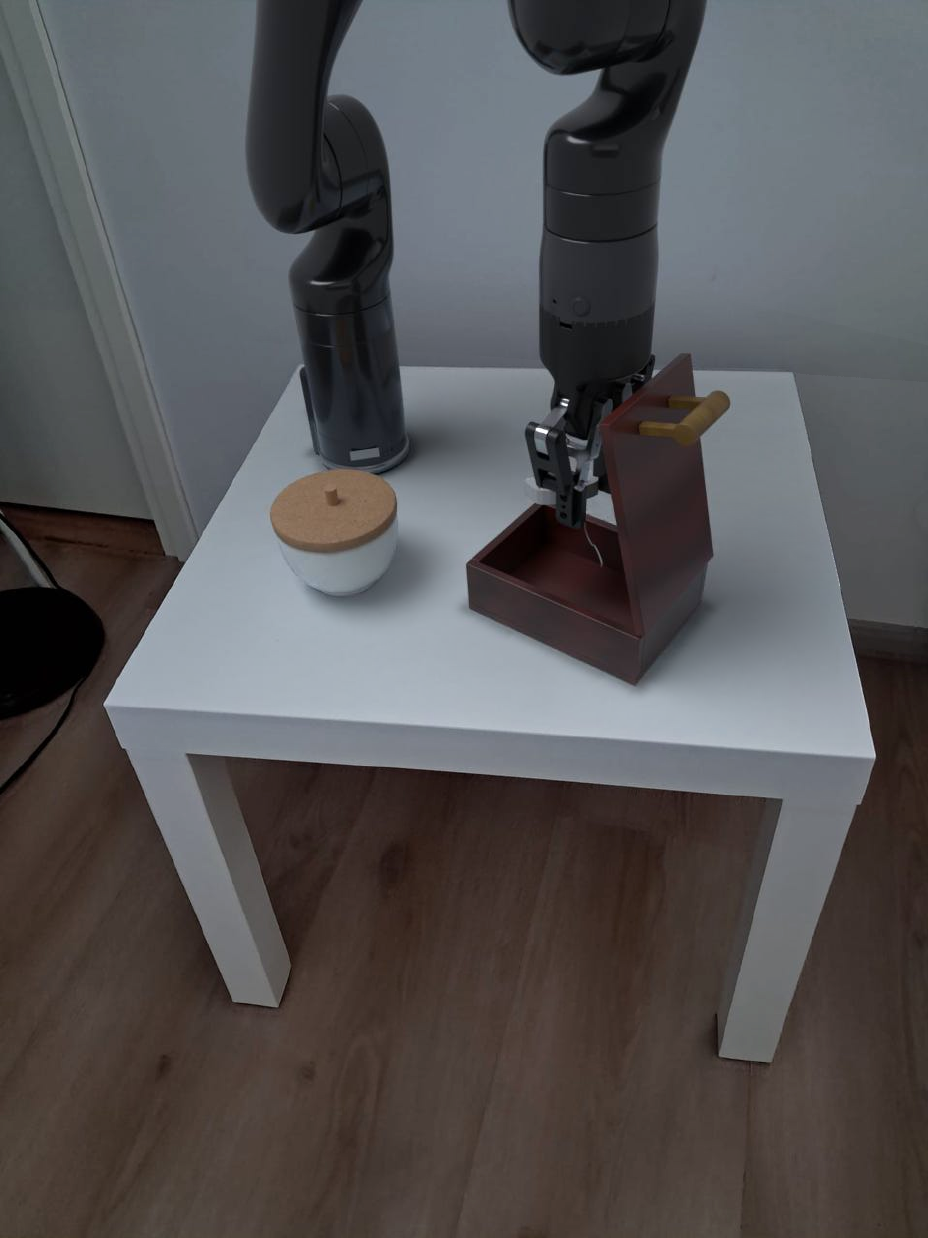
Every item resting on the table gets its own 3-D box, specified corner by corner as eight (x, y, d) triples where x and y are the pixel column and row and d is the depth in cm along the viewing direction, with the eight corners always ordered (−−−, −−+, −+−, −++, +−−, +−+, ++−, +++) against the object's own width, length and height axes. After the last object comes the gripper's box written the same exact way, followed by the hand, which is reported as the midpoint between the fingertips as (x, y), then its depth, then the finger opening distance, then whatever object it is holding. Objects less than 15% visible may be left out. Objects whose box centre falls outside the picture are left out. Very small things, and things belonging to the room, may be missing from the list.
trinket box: (388, 620, 79) (374, 531, 73) (269, 608, 81) (246, 521, 75) (418, 542, 87) (408, 456, 81) (308, 533, 89) (290, 448, 83)
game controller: (572, 470, 77) (574, 442, 75) (662, 543, 70) (667, 514, 68) (514, 491, 75) (514, 463, 73) (600, 568, 67) (603, 540, 66)
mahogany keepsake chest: (468, 608, 80) (465, 563, 76) (541, 541, 86) (541, 496, 83) (635, 686, 72) (639, 639, 69) (701, 606, 78) (708, 559, 75)
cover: (597, 423, 59) (668, 429, 56) (680, 352, 66) (748, 354, 63) (635, 634, 69) (697, 649, 66) (704, 554, 75) (764, 564, 72)
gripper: (604, 243, 66) (595, 449, 78) (485, 321, 58) (495, 539, 70) (701, 264, 63) (677, 477, 74) (588, 350, 55) (581, 574, 66)
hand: (588, 506), depth 72 cm, fingers closed on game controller, 4 cm apart
